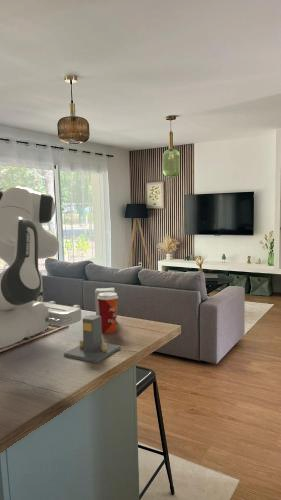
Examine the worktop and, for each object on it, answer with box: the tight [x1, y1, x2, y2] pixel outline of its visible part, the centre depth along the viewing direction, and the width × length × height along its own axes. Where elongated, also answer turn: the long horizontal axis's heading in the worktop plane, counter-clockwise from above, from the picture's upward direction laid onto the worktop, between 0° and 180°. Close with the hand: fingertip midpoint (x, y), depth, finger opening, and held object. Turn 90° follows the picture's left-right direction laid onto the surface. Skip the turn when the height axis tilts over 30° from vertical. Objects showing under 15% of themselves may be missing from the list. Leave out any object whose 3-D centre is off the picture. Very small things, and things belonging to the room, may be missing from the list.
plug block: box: [82, 314, 103, 353], centre depth 122 cm, size 4×6×11 cm
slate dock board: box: [63, 336, 121, 364], centre depth 123 cm, size 13×14×4 cm
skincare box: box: [94, 287, 118, 321], centre depth 157 cm, size 8×6×15 cm
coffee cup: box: [97, 292, 119, 334], centre depth 145 cm, size 8×8×15 cm
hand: (65, 305), depth 114 cm, fingers open, 8 cm apart
